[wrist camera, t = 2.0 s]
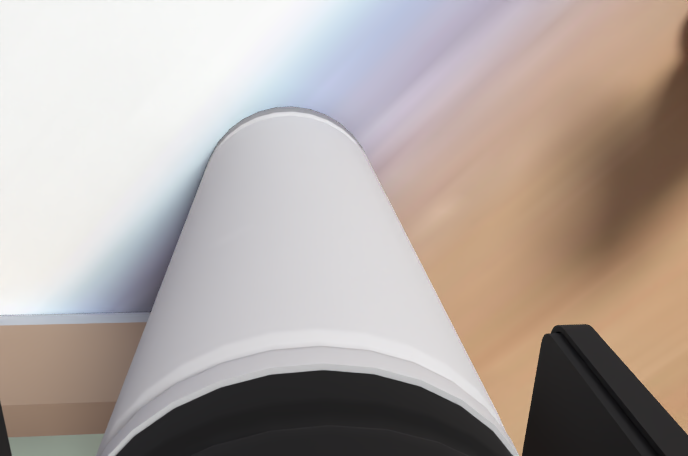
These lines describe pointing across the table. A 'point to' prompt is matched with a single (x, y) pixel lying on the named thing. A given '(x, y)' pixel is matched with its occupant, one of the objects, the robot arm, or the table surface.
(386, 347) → the travel mug
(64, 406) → the box
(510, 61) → the table surface
